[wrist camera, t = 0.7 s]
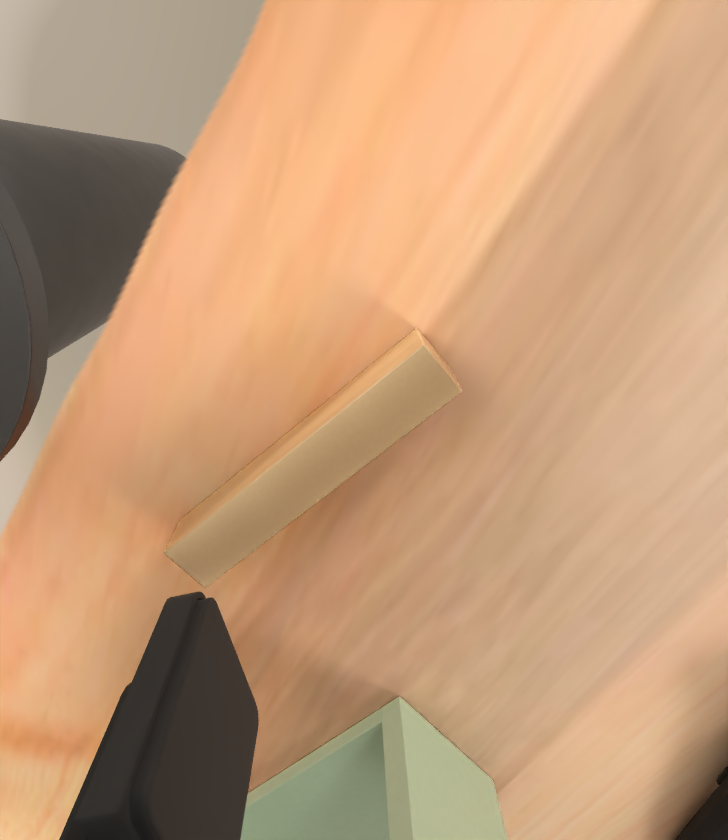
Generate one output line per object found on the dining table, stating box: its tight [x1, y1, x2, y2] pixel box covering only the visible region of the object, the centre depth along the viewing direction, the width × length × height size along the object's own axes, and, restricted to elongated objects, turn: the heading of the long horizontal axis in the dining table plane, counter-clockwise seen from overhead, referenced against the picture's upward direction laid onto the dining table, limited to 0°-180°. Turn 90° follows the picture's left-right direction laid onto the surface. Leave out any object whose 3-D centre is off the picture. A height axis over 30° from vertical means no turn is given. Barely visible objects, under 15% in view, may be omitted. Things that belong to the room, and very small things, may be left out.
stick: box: [164, 328, 462, 588], centre depth 29 cm, size 3×16×3 cm, turn 130°
